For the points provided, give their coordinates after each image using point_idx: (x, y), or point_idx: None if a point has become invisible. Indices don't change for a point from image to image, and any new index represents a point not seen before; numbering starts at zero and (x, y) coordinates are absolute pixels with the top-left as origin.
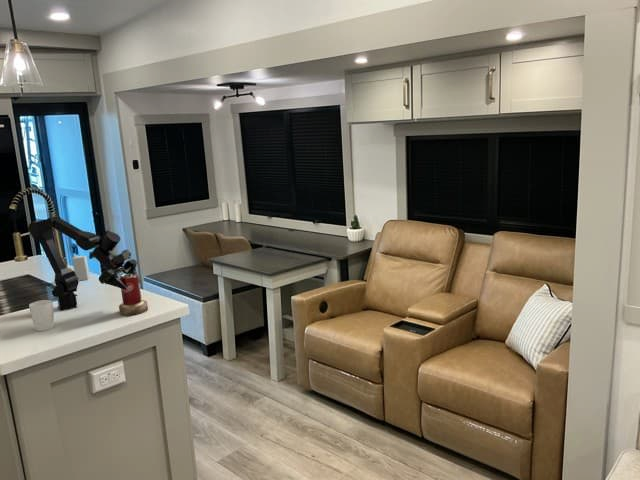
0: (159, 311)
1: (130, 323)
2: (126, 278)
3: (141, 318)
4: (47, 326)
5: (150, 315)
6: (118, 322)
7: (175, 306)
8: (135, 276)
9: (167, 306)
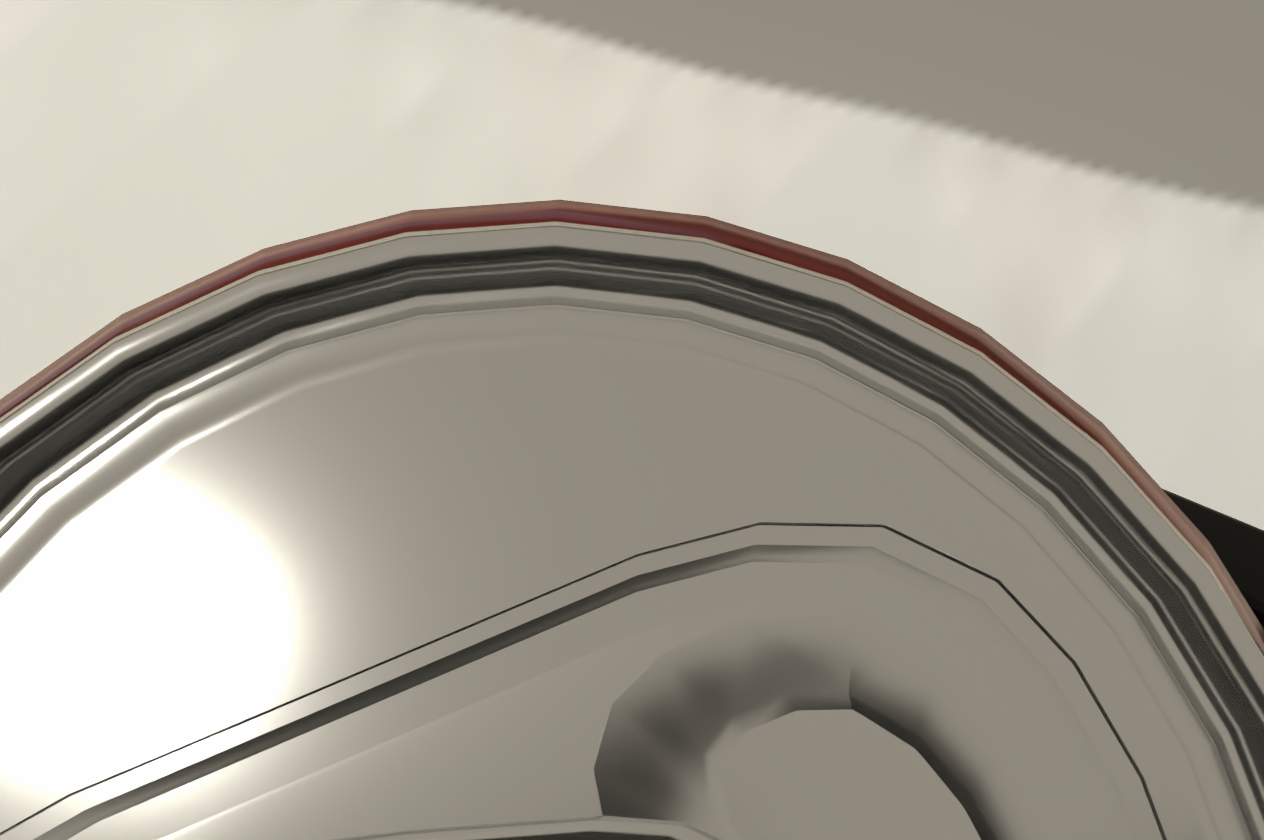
0: (385, 152)
1: (1134, 187)
2: (1192, 564)
3: (845, 194)
4: None
5: (642, 151)
6: (1217, 470)
7: (12, 56)
8: (429, 237)
9: (59, 221)
